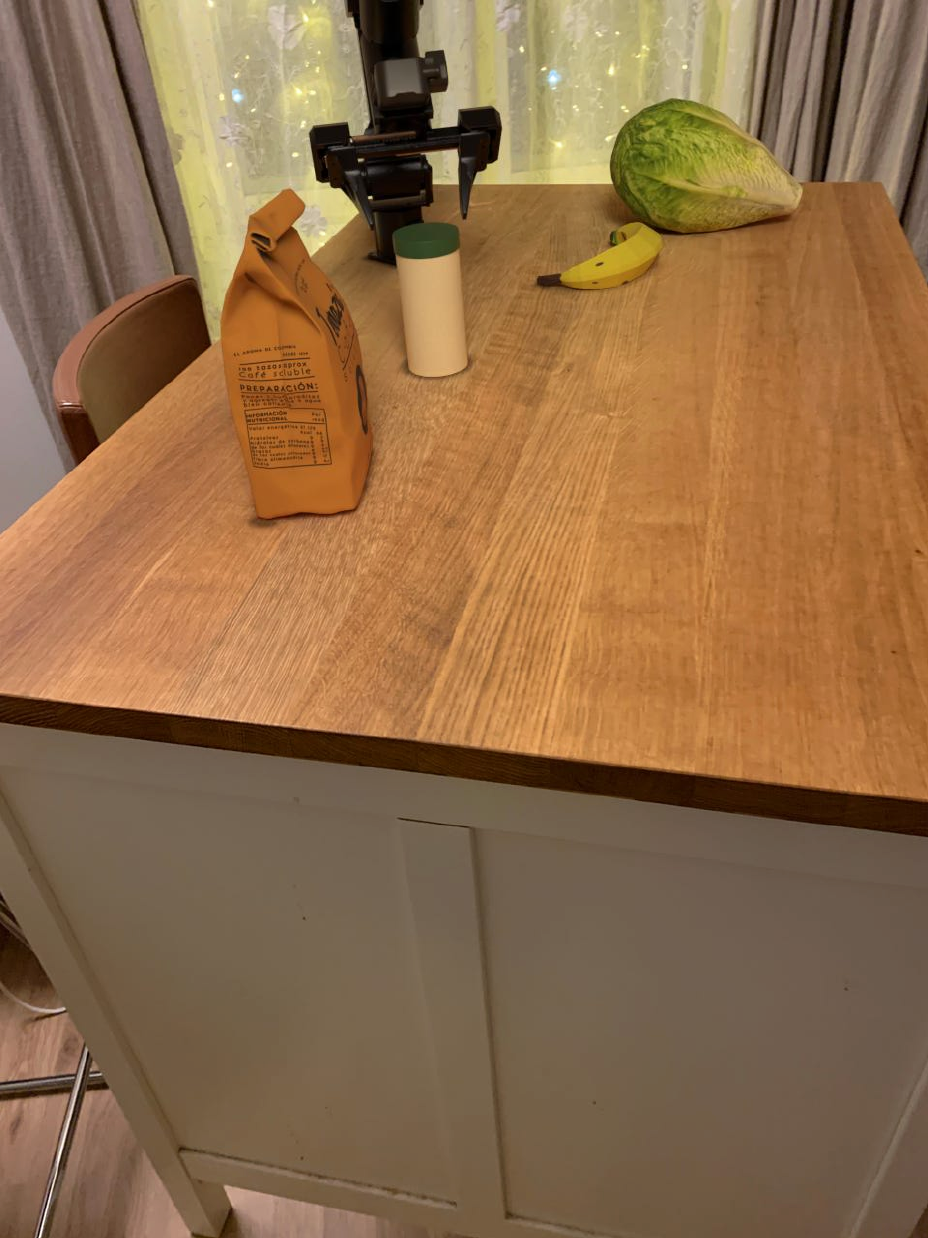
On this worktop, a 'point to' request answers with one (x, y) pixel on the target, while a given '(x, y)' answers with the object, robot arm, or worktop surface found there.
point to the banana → (613, 261)
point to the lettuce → (697, 170)
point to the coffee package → (293, 373)
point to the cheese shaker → (431, 298)
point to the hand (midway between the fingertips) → (418, 222)
